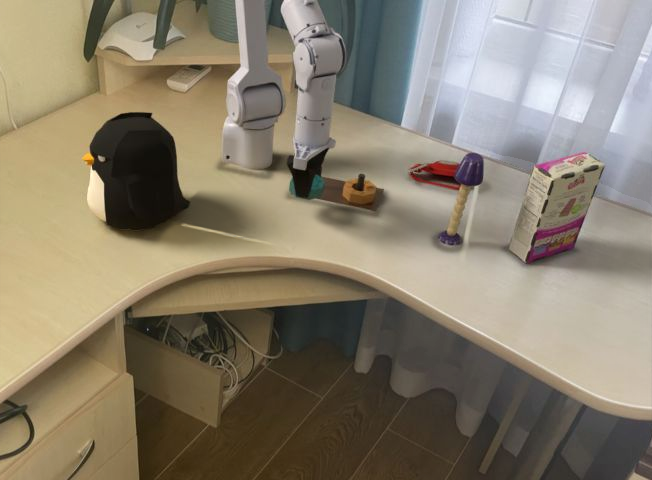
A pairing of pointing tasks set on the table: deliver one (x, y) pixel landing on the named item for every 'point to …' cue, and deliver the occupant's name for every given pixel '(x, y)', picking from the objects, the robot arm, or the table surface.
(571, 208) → the candy bar box
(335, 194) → the peg rack
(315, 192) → the teal ring
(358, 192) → the ochre ring
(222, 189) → the table surface
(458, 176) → the toy lamp
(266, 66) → the robot arm
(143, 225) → the penguin
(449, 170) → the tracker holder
